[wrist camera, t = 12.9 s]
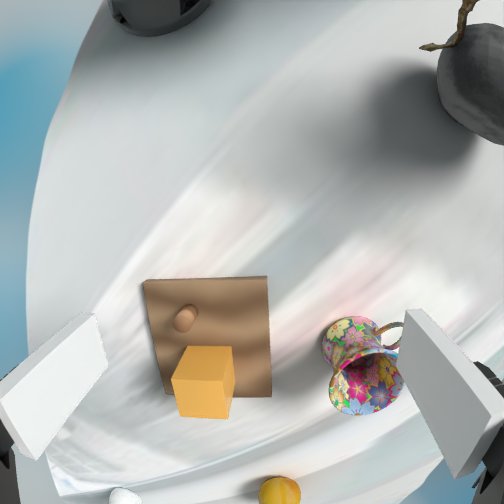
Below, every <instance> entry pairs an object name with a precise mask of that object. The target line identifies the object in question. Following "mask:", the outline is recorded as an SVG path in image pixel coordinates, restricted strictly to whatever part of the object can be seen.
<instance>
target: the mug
mask: <svg viewBox="0 0 504 504" xmlns="http://www.w3.org/2000/svg"><path fill="white" fill-rule="evenodd" d="M403 325H404V323H402V322H394V323H390V324H388V325H385V326H383V327H382V328H380V329H379V328H378V326H377V325H376V324H375V323H374V322H373V321H371V320H370V319H368V318H365V317H361V316H352V317H347V318H344V319H342V320H340V321H338V322H336V323H335V324H334V325H333V326H331V327H330V329H329V330H328V331H327V332H326V334H325V336H324V338H323V341H322V355H323V357H324V359H325V361H326V362H327V363H328V364H329V365H330V366H332V367H333V368H334V374H333V376H332V379H331V381H330V385H329V397H330V400H331V402H332V404H333V405H334V406H335V407H336V408H337V409H338V410H340V411H341V412H343V413H346V414H350V415H367V414H371V413H374V412H377V411H379V410H381V409H383V408H385V407H387V406H388V405H390V404H391V403H392V402H393V401H394V400H395V399H396V398H397V397H398V396H399V395H400V394H401V392H402V391H403V389H404V387H405V385H406V384H405V382H404V380H403V378H402V376H401V375H400V373H399V371H398V369H397V367H396V362H397V357H398V354H397V353H396V352H394V351H391V350H394V349H396V348H398V347H399V346H400V342H401V337H402V336H401V337H400V339H399V340H398V341H397V342H396V343H394V344H393V345H390V346H386V345H383V347H384V348H383V347H382V345H381V334H382V333H383V332H385V331H387V330H389V329H391V328H394V327H399V326H401V327H403Z"/></svg>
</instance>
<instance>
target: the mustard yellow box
mask: <svg viewBox="0 0 504 504" xmlns="http://www.w3.org/2000/svg"><path fill="white" fill-rule="evenodd" d="M171 381H172V385H173V390H174V394H175V398H176V402H177V406H178V410H179V413H180V416H182V417H195V418H212V419H228V417H229V412H230V407H231V401H232V396H233V391H234V386H235V375H234V366H233V357H232V347H231V346H187V348H186V350H185V352H184V354H183V356H182V358H181V360H180V362H179V364H178V366H177V368H176V370H175V372H174V374H173V376H172V378H171Z"/></svg>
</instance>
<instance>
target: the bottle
mask: <svg viewBox="0 0 504 504" xmlns="http://www.w3.org/2000/svg"><path fill="white" fill-rule="evenodd" d="M109 504H142V499H141V498H140V497H139V496H138V495H137V494H136V493H134V492H132V491H130V490H128V489H125V488H120V487H118V488H115V489H114V490H113V491H112V492H111V494H110V496H109Z"/></svg>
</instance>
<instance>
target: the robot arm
mask: <svg viewBox="0 0 504 504" xmlns="http://www.w3.org/2000/svg"><path fill="white" fill-rule="evenodd" d="M211 1H212V0H108V3H109V6H110V10H111V13H112V16H113V18H114V19H115V21H116V22H117V23H118V24H119V25H120V26H121V27H122V28H123V29H124V30H126V31H127V32H129V33H131V34H134V35H138V36H157V35H162V34H166V33H169V32H172V31H175V30H177V29H179V28H181V27H183V26H185V25H187V24H188V23H190V22H192V21H193V20H194V19H196V18H197V17H198V16H199V15H200V14H201V13H202V12H203V11H204V10H205V9H206V8H207V7H208V5H209V4H210V2H211ZM108 366H109V364H108V361H107V357H106V354H105V351H104V347H103V343H102V340H101V336H100V332H99V328H98V324H97V320H96V316H95V313H83V312H81V313H80V314H79V315H78V316H77V317H75V318H74V319H73V320H72V321H70V322H69V323H68V324H67V325H65V326H64V327H63V328H62V329H61V330H59V331H58V332H57V333H56V334H55V335H53V336H52V337H51V338H50V339H49V340H47V341H46V342H45V343H44V344H43V345H41V346H40V347H39V348H38V349H37V350H36V351H34V352H33V353H32V354H31V355H30V356H29V357H27V358H26V359H25V360H24V361H23V362H22V363H21V364H19V365H17V366H16V367H15V368H14V369H12V370H11V371H10V373H9V374H7V375H6V376H4V378H3V379H1V380H0V504H21V503H20V497H19V490H18V483H17V475H16V466H15V455H14V452H13V450H12V448H11V446H12V445H13V444H14V443H15V444H16V445H17V447H18V449H19V450H20V452H21V453H22V454H23V455H25V456H27V457H29V458H32V459H34V460H36V461H37V459H38V458H39V457H40V455H41V454H42V453H43V451H44V450H45V448H46V447H47V446H48V444H49V443H50V442H51V440H52V439H53V438H54V436H55V435H56V434H57V432H58V431H59V429H60V428H61V427H62V425H63V424H64V423H65V421H66V420H67V419H68V417H69V416H70V415H71V414H72V412H73V411H74V410H75V408H76V407H77V406H78V404H79V403H80V402H81V400H82V399H83V398H84V397H85V395H86V394H87V393H88V391H89V390H90V389H91V387H92V386H93V385H94V384H95V382H96V381H97V380H98V379H99V377H100V376H101V375H102V373H103V372H104V371H105V370H106V368H107V367H108ZM396 367H397V369H398V371H399V373H400V375H401V376H402V378H403V380H404V382H405V384H406V385H407V387H408V389H409V391H410V393H411V394H412V396H413V398H414V400H415V402H416V404H417V406H418V407H419V409H420V411H421V413H422V415H423V417H424V419H425V421H426V423H427V425H428V427H429V428H430V430H431V432H432V434H433V436H434V438H435V440H436V442H437V444H438V446H439V448H440V450H441V452H442V455H443V457H444V459H445V461H446V463H447V465H448V467H449V469H450V471H451V473H452V476H453V478H454V479H457V478H460V477H463V476H465V475H467V474H470V473H473V472H474V471H475V469H476V468H477V467H478V465H479V464H480V462H481V461H483V463H484V464H485V466H486V468H485V469H484V471H483V472H482V473H481V475H480V476H479V477H478V479H477V480H476V482H475V483H474V485H473V486H472V488H475V487H476V486H477V484H478V483H479V484H478V487H477V490H476V493H475V496H474V499H473V502H472V504H504V385H502V382H501V381H500V380H499V378H496V375H495V374H494V373H493V372H492V371H491V370H490V369H489V368H488V367H487V366H485V365H483V364H481V363H480V362H478V361H477V362H472V361H471V360H470V359H469V358H468V357H467V356H466V354H465V353H464V352H463V351H462V350H461V349H460V348H459V347H458V346H457V345H456V344H455V342H454V341H453V340H452V339H451V338H450V337H449V336H448V335H447V334H446V333H445V332H444V331H443V330H442V329H441V328H440V327H439V326H438V325H437V324H436V323H435V321H434V320H433V319H432V318H431V317H430V316H429V315H428V314H427V313H426V312H425V311H424V310H423V309H412V310H406V312H405V319H404V325H403V331H402V337H401V342H400V347H399V353H398V357H397V362H396Z"/></svg>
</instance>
